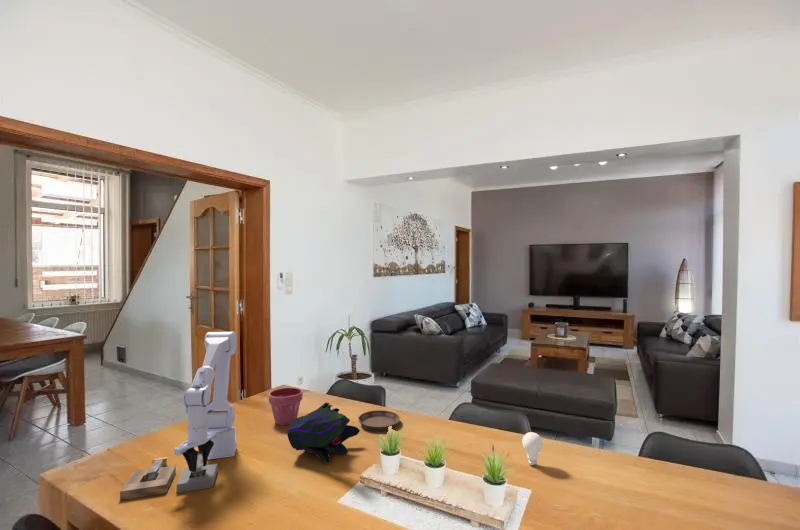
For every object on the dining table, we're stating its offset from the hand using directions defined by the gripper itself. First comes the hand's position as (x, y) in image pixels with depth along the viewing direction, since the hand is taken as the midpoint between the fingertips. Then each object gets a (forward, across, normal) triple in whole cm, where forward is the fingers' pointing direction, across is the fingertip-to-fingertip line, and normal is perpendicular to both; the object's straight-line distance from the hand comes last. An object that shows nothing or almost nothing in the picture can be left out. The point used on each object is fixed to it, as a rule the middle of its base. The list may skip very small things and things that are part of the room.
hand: (197, 468), depth 127 cm
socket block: (+4, +8, -12) cm, 15 cm away
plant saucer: (+5, -64, +31) cm, 71 cm away
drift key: (+4, +2, -17) cm, 17 cm away
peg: (+3, 0, 0) cm, 3 cm away
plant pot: (+4, -50, -8) cm, 51 cm away
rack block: (+4, 0, 0) cm, 4 cm away
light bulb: (+4, -55, +95) cm, 110 cm away
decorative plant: (+4, -32, +28) cm, 43 cm away
